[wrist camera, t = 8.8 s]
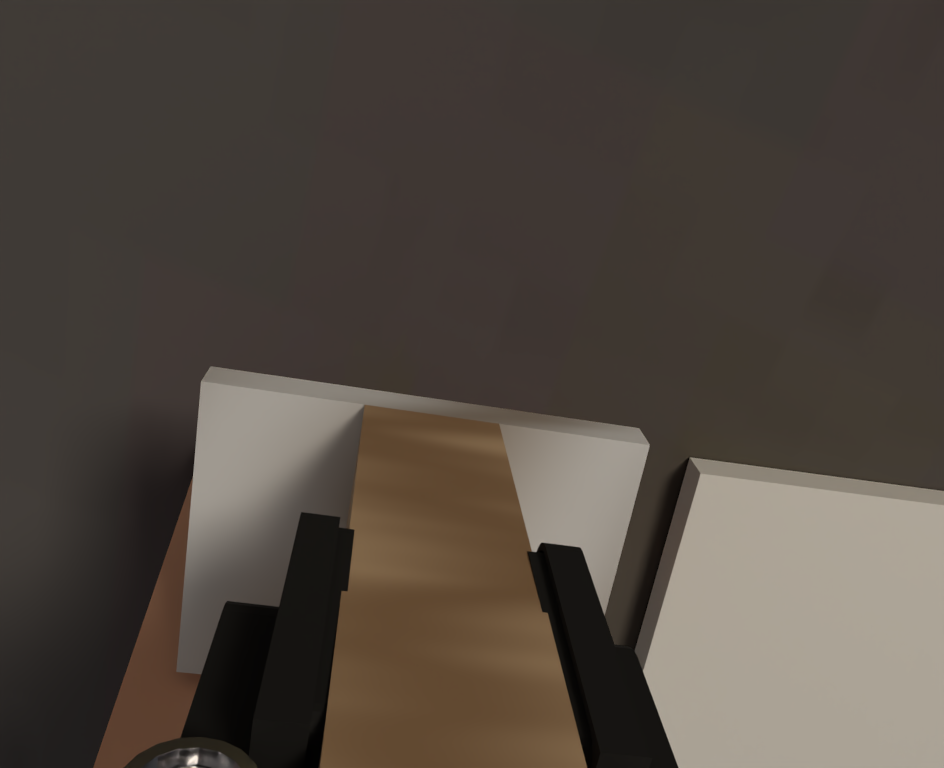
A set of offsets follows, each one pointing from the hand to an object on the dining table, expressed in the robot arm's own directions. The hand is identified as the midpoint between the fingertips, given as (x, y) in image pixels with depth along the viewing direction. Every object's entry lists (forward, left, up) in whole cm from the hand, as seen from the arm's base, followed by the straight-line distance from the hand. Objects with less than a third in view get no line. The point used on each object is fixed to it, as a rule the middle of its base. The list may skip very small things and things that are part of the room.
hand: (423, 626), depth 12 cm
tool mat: (-14, +9, -12) cm, 20 cm away
